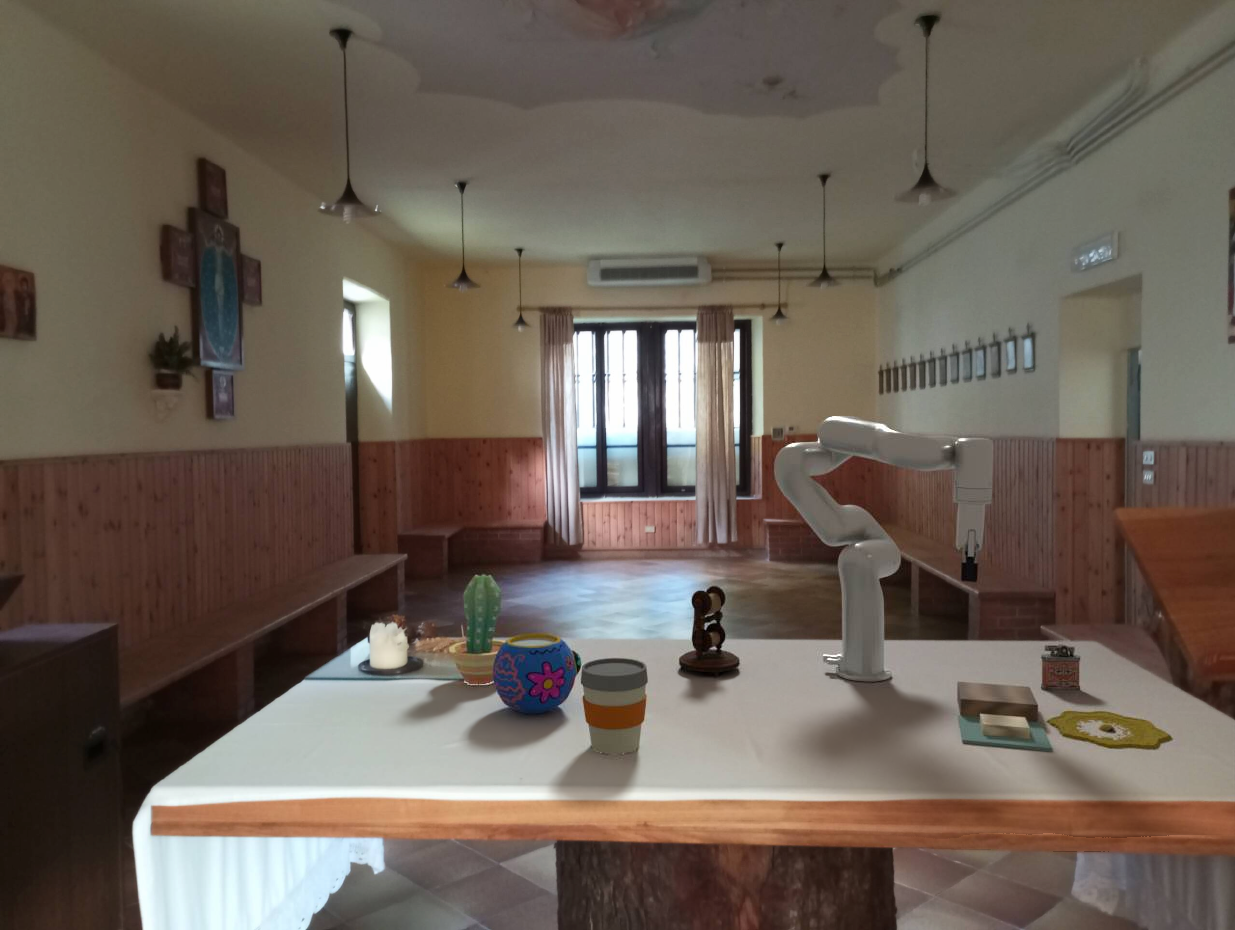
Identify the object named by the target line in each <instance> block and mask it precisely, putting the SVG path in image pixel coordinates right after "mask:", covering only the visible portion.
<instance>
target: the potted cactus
mask: <svg viewBox="0 0 1235 930" xmlns="http://www.w3.org/2000/svg"><path fill="white" fill-rule="evenodd" d="M462 597H463V611H464V614H465V618H466V623H467V624H466V636H465V637H466V640H465V641H460V642H457V643H455V644H452V645H451V646H449V647H448V649H449V650H448V651H449V652H448V653H449V655H450V658H451V659H453V661H454V664H455V666H456V669H457V671H458V672H459V673H460V674H461V675H460V676H462V677H463V678H465V680H466V682H468V683H469V684H478V685H479V684H486V683H490V682H492V681H494V679H493V666H494V661H495V658H496V655H497V653H498V651H499V649H500V647H501V646H502V645H503V644H504V643H505V642H506V641H507V640H503V639H494V635H495V629H496V623H497V620H498V618H499V617H498V616H499V614H500V611H501V609H502V590H501V588H500V587H499V585H498V583H497V582H496V581H495V579H494V578H493V576H492V575H491V574H489V575H486V574H484V573H483V574H481V575H478V574H475V575H474V576H473V577H472V578H471V580H470V581H469V583H468V584H467V585H466V588H465V590H464V591H463V594H462Z"/></svg>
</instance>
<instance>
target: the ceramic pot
mask: <svg viewBox="0 0 1235 930" xmlns="http://www.w3.org/2000/svg"><path fill="white" fill-rule="evenodd" d="M505 641H506V642H505V643H504V644H503V645H502V646H501V647H500V649H499V651H498V653H497V655H496V658H495V661H494V666H493V679H494V684H493V685H494V687H495V690H496V692H497V695H498V696H499V698H500V700H501V701H502V703H503V704H504V705H506V706H507V707H509V708H510V709H512V710H515V711H516V712H521V713H526V714H539V713H540V712H541V713H544V712H549V711H551V710H553V709H555V708H557V707H559V706H561V705H562V704H564V703H565V701H566V700H567V699H568V697H569V696H570V694H571V692H572V690H573V687H574V685H575V681H576V677H577V676H578V674H579V672H580V670H582V658H581V657H580V655H579V653H578V652H576V651H575V650H573V649H571V648H570V647H569V645H568V644H567V643H566V641H564V640H563V639H562V638H561V637H559V636H557V635H554V634H550V633H528V634H527V633H526V634H521V635H520V634H519V635H515V636H512V637H510V638H508V639H507V640H505Z"/></svg>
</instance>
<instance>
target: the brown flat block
mask: <svg viewBox="0 0 1235 930" xmlns="http://www.w3.org/2000/svg"><path fill="white" fill-rule="evenodd" d="M956 685H957V690H956V693H957V694H956V695H957V699H956V701H957V705H958V710H959V715H961V716H973V717H980V714H989V715H1001V716H1014V717H1025V718H1026V721H1032V722H1039V704H1038V702H1037V700H1036V698H1035V695H1034V694H1033V691H1032V689H1031V687H1030V686H1023V685H1009V684H995V683H982V682H981V683H980V682H968V681H967V682H966V681H957V683H956Z"/></svg>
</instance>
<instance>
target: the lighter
mask: <svg viewBox="0 0 1235 930" xmlns="http://www.w3.org/2000/svg"><path fill="white" fill-rule="evenodd" d="M1075 648H1076V647H1075V646H1074V645H1065V644H1063V643H1058V645H1057V644H1045V645H1044V651H1046V652H1050V653H1042V654H1040V659H1041V683H1040V689H1041V690H1043V691H1046V692H1047V691H1048V692H1063V693H1064V692H1067V693H1069V692H1080V691H1081V685H1080V661H1081V656H1080V655H1078V654H1074V653H1075Z"/></svg>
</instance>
